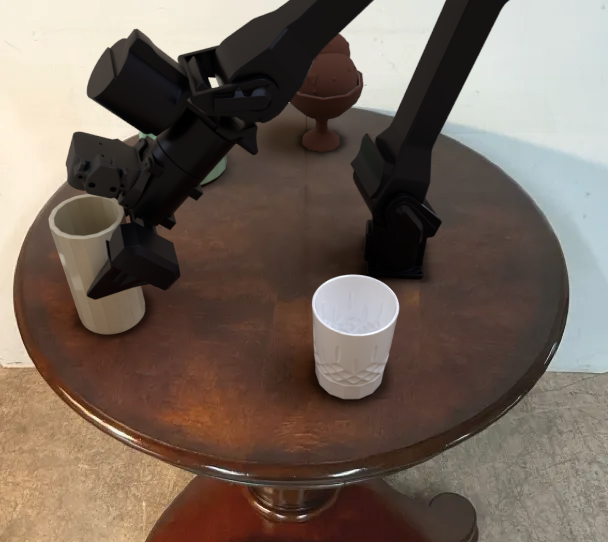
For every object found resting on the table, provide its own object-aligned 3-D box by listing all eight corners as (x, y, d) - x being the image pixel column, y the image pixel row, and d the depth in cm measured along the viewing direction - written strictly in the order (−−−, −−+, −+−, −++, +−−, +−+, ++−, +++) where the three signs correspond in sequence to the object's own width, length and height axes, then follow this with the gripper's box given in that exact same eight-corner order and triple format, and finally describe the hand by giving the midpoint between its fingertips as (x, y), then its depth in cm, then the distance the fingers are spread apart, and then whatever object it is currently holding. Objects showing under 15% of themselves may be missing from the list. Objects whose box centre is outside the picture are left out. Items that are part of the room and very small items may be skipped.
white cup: (382, 411, 67) (393, 341, 60) (303, 397, 68) (304, 327, 61) (392, 351, 72) (403, 280, 65) (318, 339, 73) (320, 268, 66)
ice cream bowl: (273, 128, 101) (271, 24, 90) (345, 117, 104) (351, 14, 93) (294, 167, 95) (294, 61, 84) (370, 154, 97) (380, 49, 86)
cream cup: (151, 290, 78) (131, 195, 68) (137, 336, 73) (113, 240, 64) (90, 287, 78) (61, 191, 69) (72, 332, 74) (38, 236, 64)
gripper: (98, 59, 65) (11, 176, 71) (119, 168, 53) (12, 298, 59) (190, 123, 73) (104, 225, 79) (227, 232, 61) (122, 342, 66)
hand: (86, 266), depth 70 cm, fingers open, 9 cm apart
